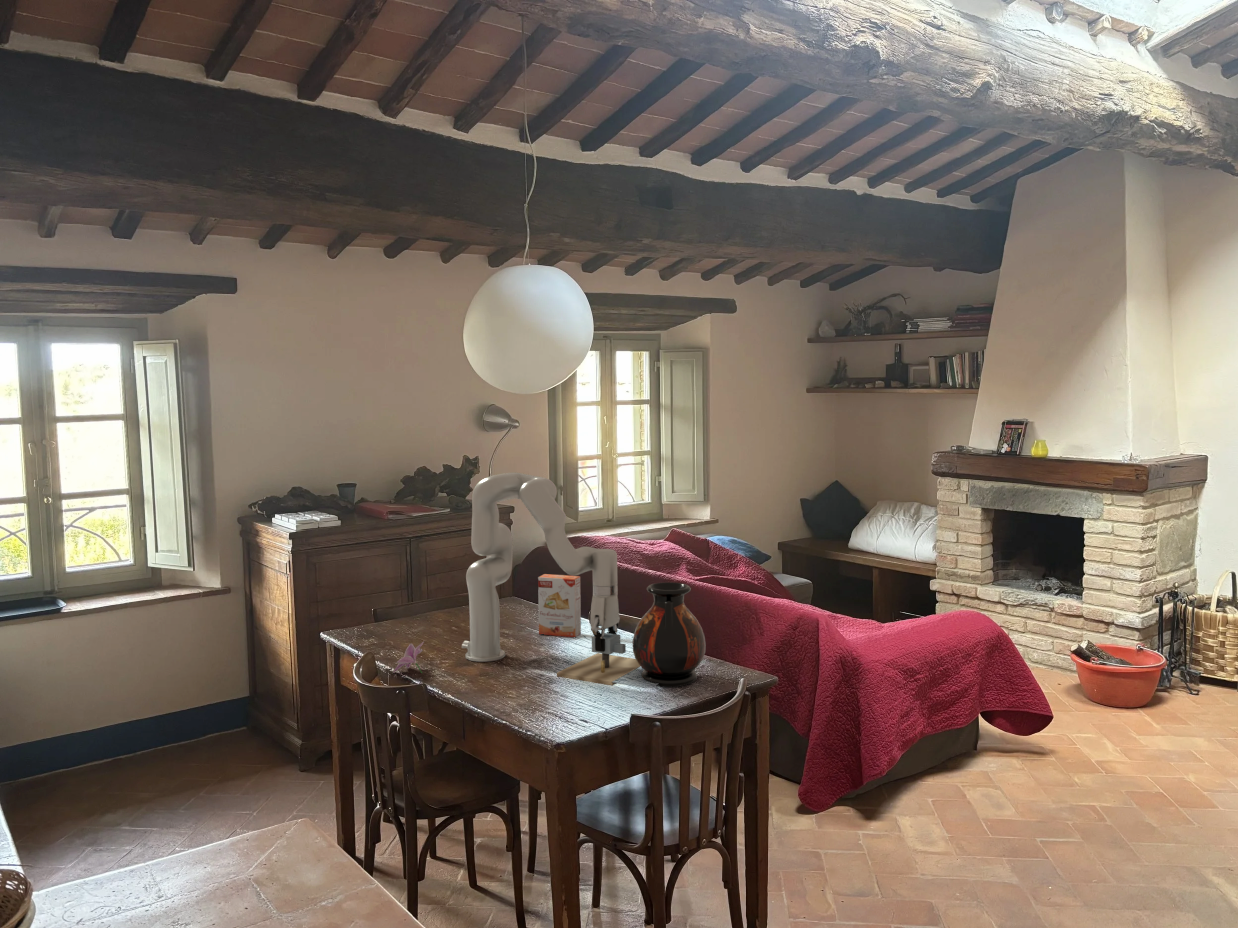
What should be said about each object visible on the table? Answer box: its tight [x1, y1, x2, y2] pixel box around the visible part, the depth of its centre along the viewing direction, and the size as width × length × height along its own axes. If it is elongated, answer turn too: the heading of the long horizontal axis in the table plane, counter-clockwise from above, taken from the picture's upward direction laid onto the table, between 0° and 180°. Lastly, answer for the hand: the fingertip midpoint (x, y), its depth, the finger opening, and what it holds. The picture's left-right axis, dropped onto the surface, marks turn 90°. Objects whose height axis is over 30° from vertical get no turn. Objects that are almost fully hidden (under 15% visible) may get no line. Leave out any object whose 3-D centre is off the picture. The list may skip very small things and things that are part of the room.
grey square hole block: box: [591, 632, 627, 655], centre depth 282 cm, size 9×6×4 cm
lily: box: [392, 641, 425, 674], centre depth 283 cm, size 12×12×10 cm
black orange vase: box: [631, 582, 707, 688], centre depth 273 cm, size 22×22×28 cm
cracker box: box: [537, 573, 582, 638], centre depth 326 cm, size 14×6×21 cm, turn 72°
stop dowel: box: [601, 660, 605, 673], centre depth 278 cm, size 1×1×4 cm
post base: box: [556, 652, 641, 687], centre depth 284 cm, size 19×24×6 cm
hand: (606, 647), depth 283 cm, fingers closed on grey square hole block, 6 cm apart
